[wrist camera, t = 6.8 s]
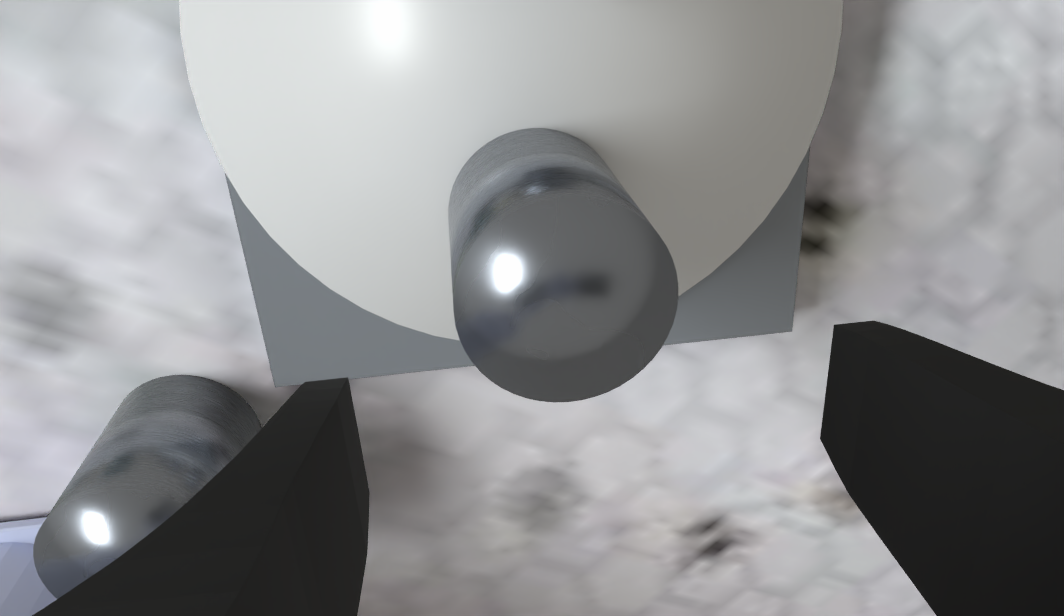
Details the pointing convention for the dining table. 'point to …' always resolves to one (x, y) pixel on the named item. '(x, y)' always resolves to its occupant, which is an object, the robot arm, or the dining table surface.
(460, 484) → the dining table surface
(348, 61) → the scale
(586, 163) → the cylinder
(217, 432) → the cylinder
